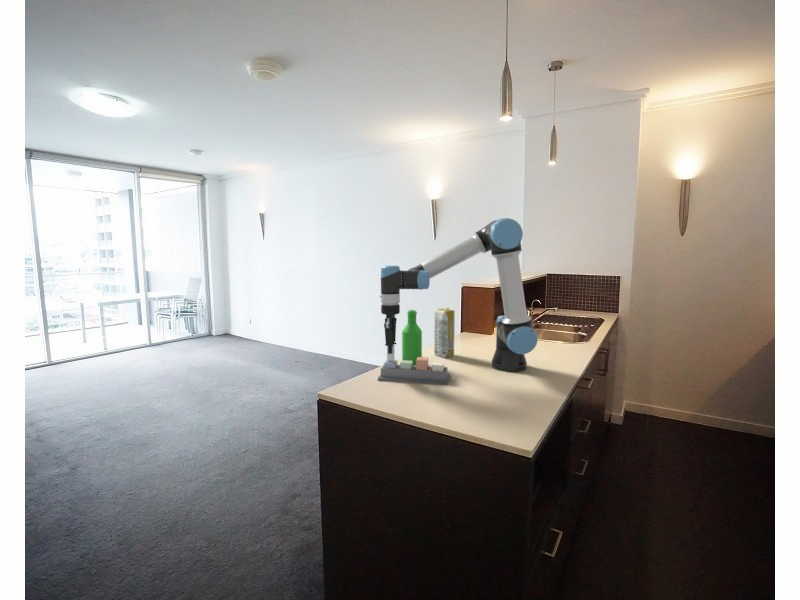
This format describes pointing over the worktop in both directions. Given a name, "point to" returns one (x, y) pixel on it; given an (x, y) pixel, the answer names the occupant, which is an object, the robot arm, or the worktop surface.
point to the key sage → (406, 364)
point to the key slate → (391, 364)
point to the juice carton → (444, 332)
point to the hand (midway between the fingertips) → (390, 360)
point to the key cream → (438, 366)
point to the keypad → (414, 375)
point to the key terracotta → (422, 363)
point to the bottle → (411, 339)
